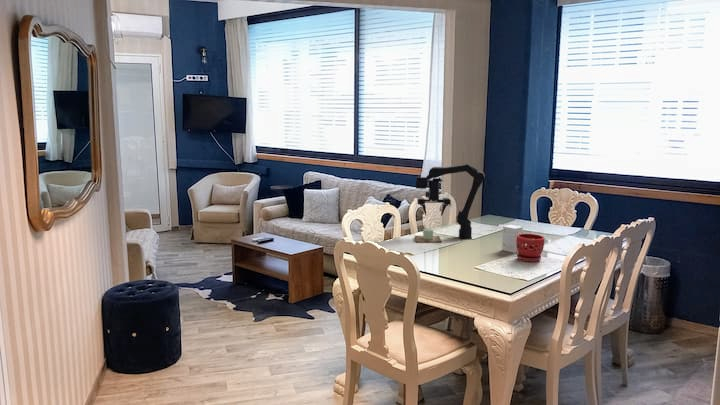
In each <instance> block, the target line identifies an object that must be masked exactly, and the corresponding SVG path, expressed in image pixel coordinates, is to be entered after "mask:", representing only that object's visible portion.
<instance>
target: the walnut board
mask: <svg viewBox="0 0 720 405" xmlns="http://www.w3.org/2000/svg"><path fill="white" fill-rule="evenodd" d="M414 240H415V243H416V244H417V243H418V244H419V243H420V244H422V243H423V244H425V243H426V244H429V243H430V244H431V243H432V244H437V243H438V244H439V243H440V244H441V243H442V239H441V237H440V235H433V239H424V238H423V235H415V236H414Z"/></svg>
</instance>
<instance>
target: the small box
mask: <svg viewBox="0 0 720 405" xmlns="http://www.w3.org/2000/svg"><path fill="white" fill-rule="evenodd" d="M523 230H524V229H523V226H520V225H519V226H518V225H514V224H507V225H503V226H502V240H501V242H502V244H501V246H502V247H501V251H505V252H509V253H512V254H513V253H514V254H516V253H517V254H518V250H517V235H518V234H523V232H524V231H523Z"/></svg>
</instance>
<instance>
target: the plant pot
mask: <svg viewBox="0 0 720 405" xmlns="http://www.w3.org/2000/svg"><path fill="white" fill-rule="evenodd" d="M545 242H546V240H545V236H543V235H540V234H535V233H522V234H518V235H517V250H518V252H517V254H516V257H517V258H518V259H519V260H520V261H523V262H528V261H529V262H530V263H532V262H533V263H534V262H538V261H540V260H541V259H542V256H541V254H543V250H544V247H545Z"/></svg>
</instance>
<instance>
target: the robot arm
mask: <svg viewBox="0 0 720 405" xmlns="http://www.w3.org/2000/svg"><path fill="white" fill-rule="evenodd" d="M464 172H466V173H468V175H470V176H471V177H472V178H473V180H472V185H471V187H470V191H469V193H468V196H467V198H466V201H465V203H464V205H463V206H464V207H462V209H458V210H459V211H458V214H457V216H456V222H457V224H458V225H459V229H458V237H459V238H460V239H461V240H462V239H463V240H464V239H465V240H466V239H468V240H469V239H471V240H472V239H473V238H472V226H471V225H472V221H471V220H470V219H469V216H470V210H471V208H472V204H473V202H474V201H475V197H476V195H477V192H478V189H479V188H480V186H481V185H482V183H483V182H484V181H485V176H486V175H485V173H484V172H483V170H478V169H476V167H475V168H474V166H472V165H471V164H469V163H465V164H461V165H459V164H458V165H454V166H443V167H442V166H434V167H431V168H430V169H429V171H428V174H427V175H426V177H425V176H424V177H423V176H422V177H421V176H416V181H415V182H416V183H415V189H416V190H417V189H419V190H426V189H427V188H428V191H425V192H424V194H425V198H427V199H425V198H424V197H418V198H417V199H416V200H417V201H416V202H417V205H420V207H422V209H423V212H424V216H425V217H426V216H427V209H426V208H427V206H426V204H429V203H430V204H431V203H435V204H437V203H439V204H441V209H440V210H441V212H440V216H441V217H442V216H443V214H444V212H445V210H446V207H448V206H449V205H451V202H452V200H451V199H450V198H449V197H443V198H441V199H440V183H441V182H443V181H444V180H443V179H442V178H441V177H442V176H444V175H448V174H450V175H451V174H456V173H464Z"/></svg>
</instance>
